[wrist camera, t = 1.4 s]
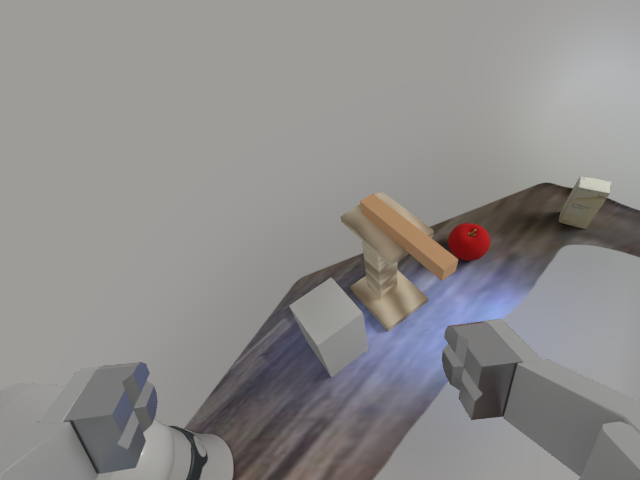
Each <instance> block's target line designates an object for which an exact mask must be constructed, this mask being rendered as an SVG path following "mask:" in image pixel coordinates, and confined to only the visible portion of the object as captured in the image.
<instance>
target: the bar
mask: <svg viewBox="0 0 640 480" xmlns="http://www.w3.org/2000/svg"><path fill="white" fill-rule="evenodd" d="M360 203H361V212H362V214H363V215H365V216H366V217H367V218H368V219H369V220H371V221H372V222H373V223H374V224H375V225H376V226H378V227H379V228H380V229H381V230H382V231H384V232H385V233H386V234H387V235H388V236H389V237H391V238H392V239H393V240H394V241H395V242H397V243H398V244H399V245H400V246H401V247H402V248H404V249H405V250H406V251H407V252H408V253H409V254H411V255H412V256H413V257H414V258H415V259H417V260H418V261H419V262H420V263H421V264H422V265H424V266H425V267H426V268H427V269H428V270H430V271H431V272H432V273H433V274H434V275H435V276H437V277H438V278H439V279H440V280H441V281H443V280H444V279H445V278H447V277H448V276H449V275H451V274H452V273H453V272H455V271H456V268H457V264H458V259H457V258H456V257H455V256H453V255H452V254H451V253H450V252H448V251H447V250H446V249H444V248H443V247H442V246H440V245H439V244H438V243H437V242H435V241H434V240H433V239H431V238H430V237H429V236H427V235H426V234H425V233H424V232H422V231H421V230H420V229H418V228H417V227H416V226H414V225H413V224H412V223H411V222H409V221H408V220H407V219H405V218H404V217H403V216H401V215H400V214H399V213H398V212H396V211H395V210H394V209H392V208H391V207H390V206H388V205H387V204H386V203H384V202H383V201H382V200H381V199H379V198H378V197H377V196H375V195H374V194H372V195H370V196H369V197H367V198H366V199H364V200H362V201H361V202H360Z"/></svg>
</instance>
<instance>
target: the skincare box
mask: <svg viewBox="0 0 640 480" xmlns="http://www.w3.org/2000/svg"><path fill="white" fill-rule="evenodd" d="M611 184H612V182H611V181H606V180H600V179H596V178H590V177H585V176H580V178H579V179H578V181H577V183H576V185H575V186H574V188H573V190H572V192H571V194H570V196H569V197H568V199H567V201H566V203H565V205H564V206H563V208H562V210H561V212H560V216H559V221H558V222H560V223H563V224H567V225H571V226H575V227H579V228H583V229H586V228H587V227H588V225H589V224H590V222H591V221H592V219H593V218H594V216H595V215H596V213H597V212H598V210H599V209H600V207H601V206H602V204H603V203H604V201H605V200H606V198H607V197H608V195H609V194H610V191H611Z"/></svg>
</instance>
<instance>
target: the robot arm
mask: <svg viewBox="0 0 640 480" xmlns="http://www.w3.org/2000/svg"><path fill="white" fill-rule="evenodd" d="M444 338H445V339H446V341H447V342H448V345H447V346H446V347H445V348H444V349H443V354H442V362H443V368H444V372H445V374H446V377H447V379H448V380H449V382H450V384H451V385H452V386H454V387H456V388H457V389H459V390H460V393H459V400H460V401H461V403H462V405H463V406H464V408H465V410H466V411H467V413H468V415H469V417H470V418H471V420H476V419H485V418H494V417H503V416H504V419H505V420H506V421H508V422H509V423H510V424H512V425H513V426H514V427H516V428H517V429H518V430H520V431H521V432H522V433H524V434H525V435H526V436H527V437H529V438H530V439H531V440H533V441H534V442H536V443H537V444H538V445H539V446H541V447H542V448H543V449H545V450H546V451H547V452H548V453H550V454H551V455H552V456H554V457H555V458H557V459H558V460H559V461H560V462H562V463H563V464H564V465H566V466H567V467H568V468H570V469H571V470H572V471H573V472H575V473H576V474H577V475H579V476H580V479H579V480H640V401H638V400H635V399H633V398H631V397H629V396H627V395H625V394H622V393H620V392H618V391H616V390H614V389H612V388H609V387H607V386H605V385H603V384H600V383H599V382H596V381H594V380H592V379H590V378H588V377H585V376H583V375H581V374H579V373H577V372H575V371H573V370H571V369H568V368H566V367H564V366H562V365H560V364H558V363H555V362H553V361H551V360H548V359H546V360H542V359H541V358H540V357H539V356H538V354H537V353H536V352H534V350H533V349H532V348H531V347H530V346H529V345H528V344H527V343H526V342H525V341H524V340H523V339H522V338H521V337H520V336H519V335H518V334H517V333H516V332H515V331H514V330H513V329H512V328H511V327H510V326H509V325H508V324H507V323H506V322H505V321H504V320H501V319H495V320H488V321H483V322H475V323H467V324H459V325H451V326H448V327H447V328H446V330H445V337H444ZM148 376H149V370H148V368H147V365H146V364H145V363H142V362H139V363H128V364H117V365H107V366H102V367H90V368H82V369H80V370H78V371H77V372H75V374H74V375H73V377H72V378H71V379H70V381H69V382H68V383H67V385H66V386H65V387H62V386H59V385H56V384H15V385H11V386H8V387H5V388H2V389H0V480H232V479H233V458H232V454H231V451H230V449H229V447H228V446H227V444H226V443H225V442H224V441H223V440H222V439H221V438H220V437H218V436H216V435H213V434H206V433H205V434H199V433H194V432H192V431H190V430H187V429H182V428H179V427H177V426H167V425H165V424H163V423H161V422H160V421H158V420H156V419H155V415H156V408H157V394H156V390H155V387H154V386H153V385H152V384H151V383H149V382H148V381H146V380H147V378H148Z"/></svg>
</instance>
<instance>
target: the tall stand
mask: <svg viewBox="0 0 640 480" xmlns="http://www.w3.org/2000/svg"><path fill="white" fill-rule="evenodd" d="M375 196H377V197H378V198H379V199H381V200H382V201H383V202H384V203H386V204H387V205H388V206H390V207H391V208H392V209H394V210H395V211H396V212H398V213H399V214H400V215H401V216H403V217H404V218H405V219H407V220H408V221H409V222H411V223H412V224H413V225H414V226H416V227H417V228H418V229H420V230H421V231H422V232H424V233H425V234H426V235H427V236H429V237H430V238H431V237H433V235H434V230H432V229H431V228H430V227H428V226H427V225H425V224H424V223H423V222H422V221H420V220H419V219H418V218H416V217H415V216H414V215H412V214H411V213H410V212H408V211H407V210H405V209H404V208H403V207H401V206H400V205H399V204H397V203H396V202H395V201H393V200H392V199H391V198H389V197H388V196H387V195H385V194H384V193H383V192H379V193H378V194H376V195H375ZM341 221H342V222H343V223H344V224H345V225H346V226H347V227H348V228H349V229H350V230H351V231H352V232H353V233H354V234H355V235H357V236H358V237H359V238H360V239H361V240H362V244H363V253H364V261H365V269H366V276H365V277H363V278H362V279H360V280H359V281H358V282H356V283H355V284H353V285H352V286H350V290H351V291H352V292H353V293H354V294H355V295H356V297H357V298H358V299H359V300H360V301H361V302H362V303H363V304H364V305H365V307H366V308H367V309H368V310H369V311H370V312H371V313H372V314H373V315H374V316H375V318H376V319H377V320H378V321H379V322H380V323H381V324H382V325H383V326H384V327H385V329H386V330H387V331H390V330H391V329H392V328H394V327H395V326H396V325H398V324H399V323H400V322H402V321H403V320H404V319H405V318H407V317H408V316H409V315H411V314H412V313H413V312H415V311H416V310H417V309H419V308H420V307H421V306H423V305H424V304H425V303H426V302H428V297H427V296H425V295H424V294H423V293H422V292H421V291H420V290H419V289H418V288H417V287H416V286H415V285H413V284H412V283H411V282H410V281H409V280H408V279H407V278H406V277H405V276H404V275H403V274H401V273H400V272H399V271H398V270H397V261H399V260H400V259H401V258H403V257H404V256H406V255H407V254H409V253H408V252H407V251H406V250H405V249H404V248H402V247H401V246H400V245H399V244H398V243H397V242H395V241H394V240H393V239H392V238H391V237H389V236H388V235H387V234H386V233H385V232H384V231H382V230H381V229H380V228H379V227H378V226H376V225H375V224H374V223H373V222H372V221H371V220H369V219H368V218H367V217H366V216H365V215H363V214H362V212H361V204H360V205H358V206H357V207H355V208H354V209H352V210H350V211H349V212H347V213H345V214H344V215H342V216H341Z"/></svg>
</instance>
